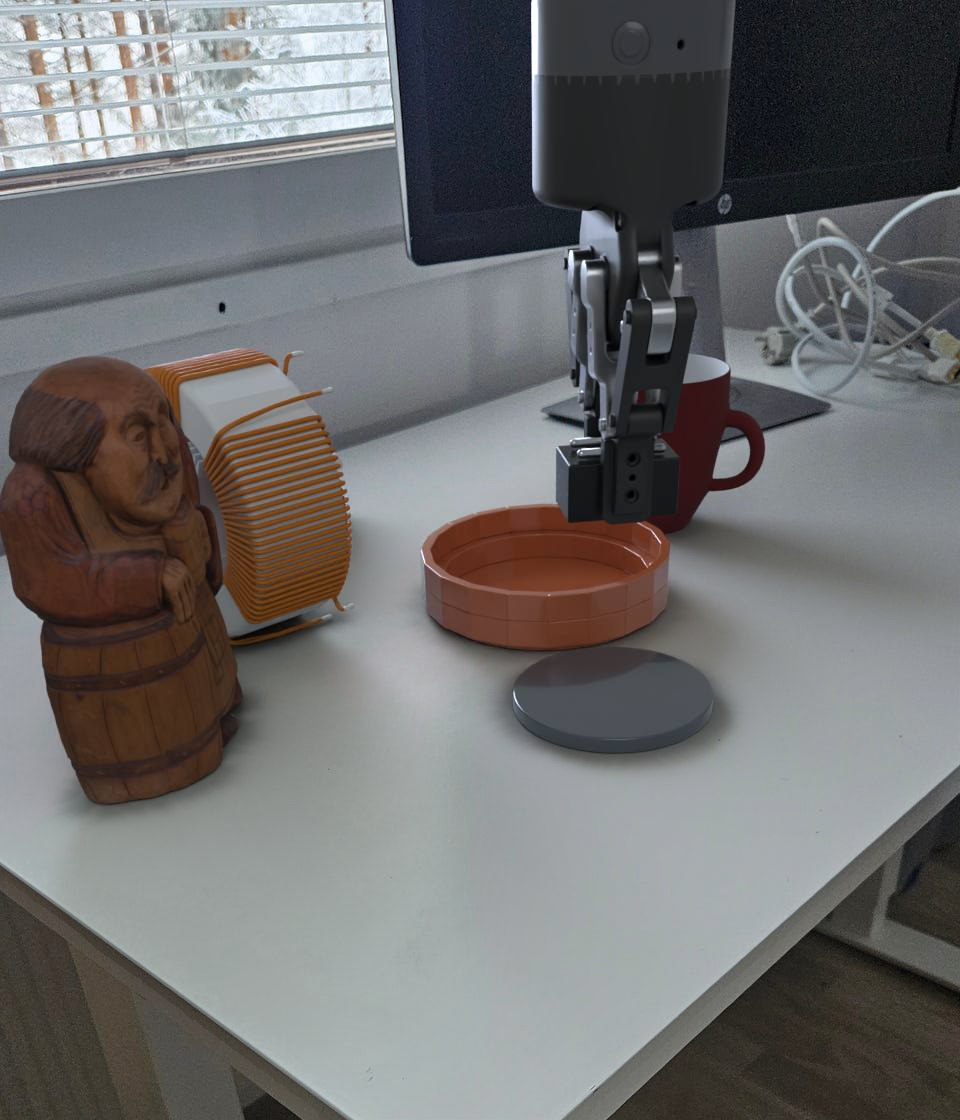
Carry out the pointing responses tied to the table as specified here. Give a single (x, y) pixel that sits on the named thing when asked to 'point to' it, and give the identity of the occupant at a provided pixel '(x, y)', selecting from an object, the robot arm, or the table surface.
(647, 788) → the table surface
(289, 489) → the coil
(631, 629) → the bowl
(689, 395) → the mug
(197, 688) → the wooden figurine
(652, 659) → the plate
